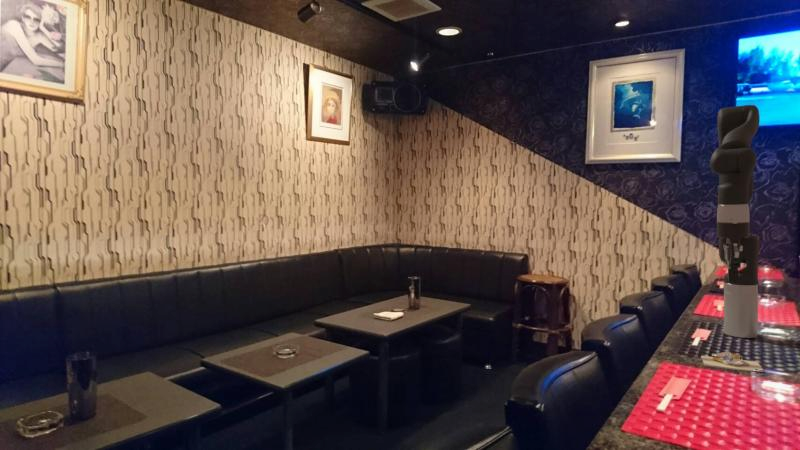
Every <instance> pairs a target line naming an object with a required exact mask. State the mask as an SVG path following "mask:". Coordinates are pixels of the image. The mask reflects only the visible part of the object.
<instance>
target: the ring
mask: <svg viewBox="0 0 800 450" xmlns="http://www.w3.org/2000/svg"><path fill="white" fill-rule="evenodd" d="M711 357H712V359H714V360H716V361H720V362H723V363H725V364H729V363H734V362H738V361H742V360H743V356H742V355H741V354H737V353H732V352H730V351H723V352H718V353H711ZM716 357H718V358H716ZM719 358H722V359H719ZM724 360H726V361H724ZM727 360H729V361H727Z"/></svg>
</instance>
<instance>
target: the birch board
mask: <svg viewBox="0 0 800 450" xmlns="http://www.w3.org/2000/svg"><path fill="white" fill-rule="evenodd" d="M700 357H701V361H702V362H703V365H704V367H705V368H715V369H724V370H734V371H743V372H744V371H745V372H751V373H753V372H752V371H753V370H755V369H758V370H764V369H763V367H762V366H761V364H760V363H759V362H758V361H756V360H745V359H742V361H738V362H734V363H729V364H725V363H723V362H720V361H716V360H714V359H712V356H709V355H708V356H707V355H701V356H700ZM716 358H719V359H722V358H721V357H716ZM724 361H726V360H724ZM727 361H729V360H727Z"/></svg>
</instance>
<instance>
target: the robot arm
mask: <svg viewBox="0 0 800 450" xmlns="http://www.w3.org/2000/svg"><path fill="white" fill-rule="evenodd" d="M716 117H717V118H716V121H717V123H716V125H717V136H718V148H716V149H715V150H714V151H713V153H712V154H711V157H710V161H709V168H710V169H711V171H712V172H713V173H714V174H716V175H718V187H717V211H716V236H717V238H718V255H719V259H720V260H721V262H724V263H725V265H726V267H727V272H726V273H725V274H724V276H723V333H724V334H725V335H727V336H730V337H734V338H735V337H736V338H741V339H745V338H746V339H755V338H758V337H759V336H758V335H759V334H758V331H759V330H758V329H759V275H758V274H759V255H760V241H759V239H758V237H757V236H756V235H750V234H751V233H750V227H751V226H750V222H751V221H750V217H751V216H750V207H749V203H750V202H751V201H752V198H753V197H754V174H753V173H754V170H755V168H756V164H757V160H758V157H757V153H756V152H755V151H754V149H752V148H751V144H752V141H753V138H754V137H755V135H756V134H757V132H758V129H759V127H760V110H759V107H757V106H756V105H755V104H745V105H737V106H729V107H723V108H720V109H719V111H718V113H717V116H716ZM742 264H746V265H745V266H744V267H743V268H741V266H742Z"/></svg>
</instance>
